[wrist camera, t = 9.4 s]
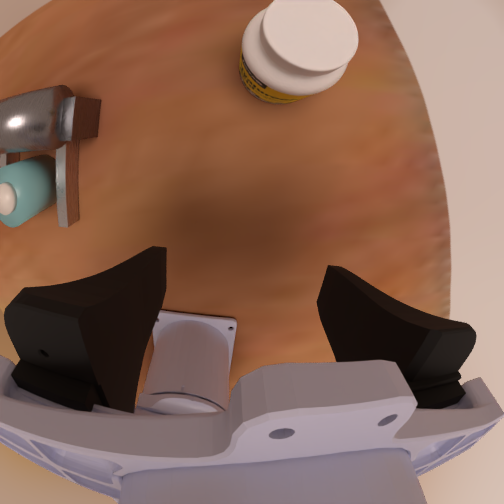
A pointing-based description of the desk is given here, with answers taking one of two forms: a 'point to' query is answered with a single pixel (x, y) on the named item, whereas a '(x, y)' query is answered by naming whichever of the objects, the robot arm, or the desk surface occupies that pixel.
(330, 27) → the supplement bottle
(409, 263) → the desk surface
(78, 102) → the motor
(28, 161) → the teal cylinder
